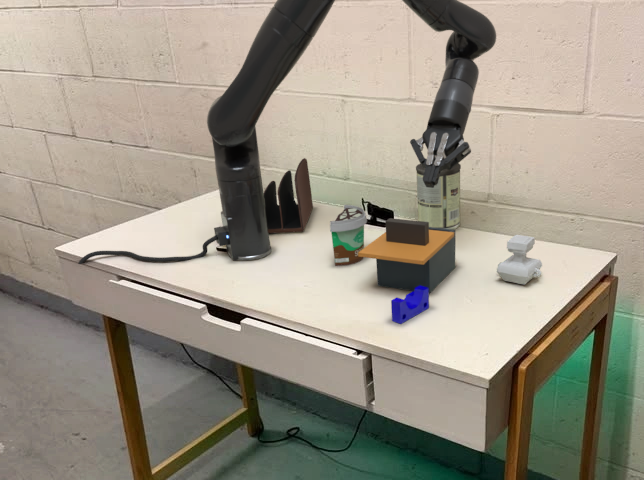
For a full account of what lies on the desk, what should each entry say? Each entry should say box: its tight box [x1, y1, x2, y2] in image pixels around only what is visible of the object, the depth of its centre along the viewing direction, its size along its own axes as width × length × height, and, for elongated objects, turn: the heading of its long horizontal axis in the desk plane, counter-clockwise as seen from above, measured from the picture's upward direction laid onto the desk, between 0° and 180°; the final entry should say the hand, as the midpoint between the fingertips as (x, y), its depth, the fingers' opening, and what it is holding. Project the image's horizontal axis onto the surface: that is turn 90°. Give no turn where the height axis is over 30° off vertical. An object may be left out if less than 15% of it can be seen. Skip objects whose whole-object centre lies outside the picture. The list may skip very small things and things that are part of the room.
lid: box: [358, 217, 454, 265], centre depth 131 cm, size 16×13×5 cm
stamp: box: [496, 234, 543, 286], centre depth 133 cm, size 9×7×8 cm
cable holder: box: [390, 285, 430, 325], centre depth 123 cm, size 8×4×4 cm, turn 139°
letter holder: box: [263, 157, 314, 234], centre depth 172 cm, size 10×20×14 cm, turn 179°
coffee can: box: [415, 162, 462, 230], centre depth 163 cm, size 10×10×14 cm
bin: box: [375, 227, 456, 294], centre depth 137 cm, size 14×11×8 cm
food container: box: [329, 204, 368, 267], centre depth 147 cm, size 12×6×10 cm, turn 168°
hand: (428, 185), depth 137 cm, fingers closed
